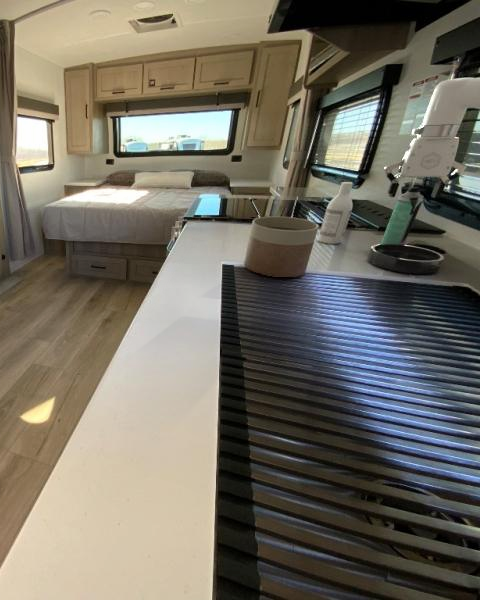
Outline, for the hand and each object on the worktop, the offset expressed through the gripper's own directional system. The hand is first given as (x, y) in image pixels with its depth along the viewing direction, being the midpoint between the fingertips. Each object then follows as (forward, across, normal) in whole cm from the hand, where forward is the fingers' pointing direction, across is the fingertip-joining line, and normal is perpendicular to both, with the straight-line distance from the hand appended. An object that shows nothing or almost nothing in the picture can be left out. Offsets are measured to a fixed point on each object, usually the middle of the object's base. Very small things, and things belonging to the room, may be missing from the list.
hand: (412, 197), depth 98 cm
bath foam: (+17, -16, +7) cm, 24 cm away
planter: (+17, -34, -28) cm, 47 cm away
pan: (+17, -1, -12) cm, 21 cm away
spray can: (+18, 0, 0) cm, 18 cm away
